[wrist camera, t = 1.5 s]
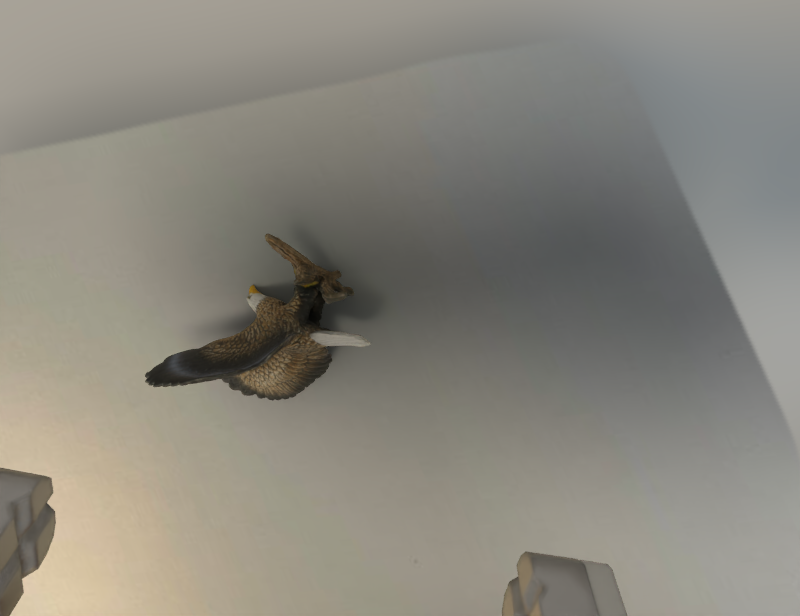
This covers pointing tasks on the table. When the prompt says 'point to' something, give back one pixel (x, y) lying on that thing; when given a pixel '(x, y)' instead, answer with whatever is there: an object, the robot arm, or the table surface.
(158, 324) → the table surface
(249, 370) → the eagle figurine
